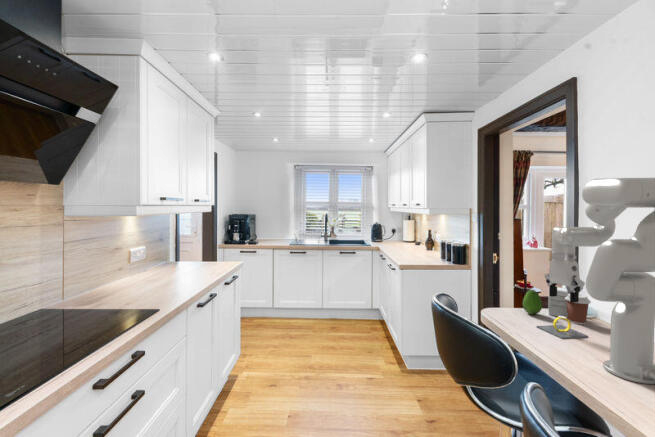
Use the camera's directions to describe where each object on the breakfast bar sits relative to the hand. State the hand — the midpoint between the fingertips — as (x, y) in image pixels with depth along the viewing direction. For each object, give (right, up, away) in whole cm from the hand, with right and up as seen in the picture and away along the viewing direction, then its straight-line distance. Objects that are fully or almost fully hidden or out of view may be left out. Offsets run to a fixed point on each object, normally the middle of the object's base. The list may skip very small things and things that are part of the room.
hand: (563, 298), depth 127 cm
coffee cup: (+16, -14, +13) cm, 25 cm away
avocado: (+3, -14, +24) cm, 28 cm away
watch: (0, -14, +1) cm, 14 cm away
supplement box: (+15, -14, +23) cm, 31 cm away
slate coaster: (0, -14, +1) cm, 14 cm away
